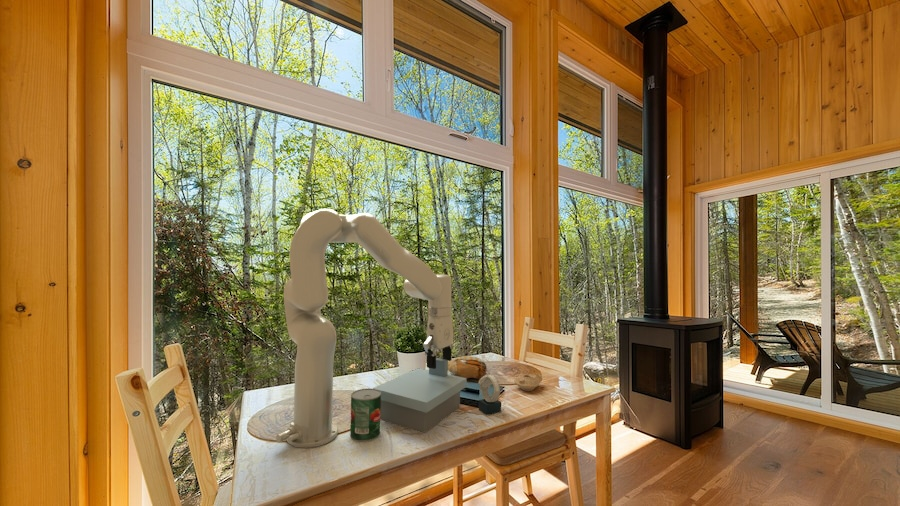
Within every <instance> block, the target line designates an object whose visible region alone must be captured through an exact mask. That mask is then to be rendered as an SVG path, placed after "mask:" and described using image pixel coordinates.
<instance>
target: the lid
mask: <svg viewBox="0 0 900 506" xmlns="http://www.w3.org/2000/svg"><path fill="white" fill-rule="evenodd" d="M467 379H468V378H464V377H458V376H457V375H455V374H454V375H453V374H449V371H448V360H445V359H443V358H438V357H436V368H435V369H432V368H428V369H426V368H425V369H420V368H417V369H415V370H412V369H411V371H408V372H406V373H403V374H402V375H400V376H397V377H395V378H393V379H390V380H388V381H385V382H384V383H380V384H379V385H377V386H375V387H372V389H377V390H379V391H380V392H381V400H383V401H386V402H390V403H394V404H397V405H401V406H404V407H408V408H411V409H415V410H418V411H422V412H425V413H427V412H428V411H430V410H432V409H433V408H435V407H436V406H438V405H439V404H441V403H442V402H444V401H445V400H447V399H448V398H450V397H452V396H453V395H455V394H456V393H458V392H459V391H460V392H461V391H462V390H464V389H466V387H467V386H468V385H467V381H468V380H467Z"/></svg>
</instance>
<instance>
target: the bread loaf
mask: <svg viewBox="0 0 900 506" xmlns="http://www.w3.org/2000/svg"><path fill="white" fill-rule="evenodd" d="M489 369H490V368H488V367H487V364H486V362H485V361H483V360H482V359H481V358H479V357H477V356H470V355H462V356H457V357H455V358H453V359H452V358H451V361H448V373H452V374H454V375H455V376H458V377H463V378H467V379H470V378H472V379H476V380H480V379H481V378H482V377H483V376H485V375H491V373H490V372H488V370H489ZM486 372H488V373H489V374H487V373H486Z"/></svg>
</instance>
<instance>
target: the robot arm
mask: <svg viewBox="0 0 900 506" xmlns="http://www.w3.org/2000/svg"><path fill="white" fill-rule="evenodd" d="M330 243H340V244H341V243H342V244H343V243H345V244H346V243H349V244H350V243H358V245H360V246H361V247H362V248H363V249H364V250H365V251H366V252H367V253H368V254H369V256H370V257H372V258H373V259H374V260H375V261H376V262H377V264H379V265H380V266H381V267H382V268H384V269H386V270H388V271H390V272H392V273H394V274H397V275H398V276H400V277H402V278H404V282H403V290H404V291H403V292H404V293H406V295H408V296H409V297H411V298H414V299H415V298H416V299H421V300H425V301H428V312H427V313H428V319H427V327H426V340H425V341H424V343H423V346H422V347H423V348H424V350H425V356H426V368H428V369H429V368H432V369H435V368H436V358H437V356H436V354H437V350H442V359H445V360H448V361H451V360H452V351H453V350H452V349H453V343H454V339H455V338H454V337H455V333H454V325H453V324H454V323H453V322H454V321H453V318H452V277H451V276H450V275H449V274H443V273H442V274H440V273H439V274H437V273H435V272H434V271H433V270H432V269H431V267H430V266H429V265H428V264H426V263H425V262H424V261H423V260H421V258H419V257H417V256H416V255H415V254H413V253H412V252H411V251H409V250H408V249H406V248H405V247H403V246H402V245H401V244H400V243H399V242H398V240H397V239H396V238H395V237H394V236H393V235H392V234H391V233H390V232H389V231H388V230H387V229H386V228H385V226H384V225H383V224H381V222H380V221H379V220H378V219H377V218H376V217H375V216H374V215H372V214H371V213H369V212H359V213H355V214H339V212H337V211H336V210H334V209H330V208H322V209H321V208H320V209H318V210H317V209H316V210H314V211H311V212H308V213H307V214H306V215H304V216H303V217H302V219H301V220H300V223H299V227H298V228H297V230H296V231H295V233H294V235H293V237H292V240H291V243H290V247H289V265H290V267H289V268H290V278H289V279H288V280H287V282H286V284H285V285H284V288H283V303H284V313H285V320H286V321H285V322H286V327H287V333H288V337H290V340H291V342H294V343H295V345H297V347H296V348H297V349H296V356H295V363H294V364H295V365H294V390H293V391H294V393H293V397H294V398H293V400H294V401H293V421H292V422H290V424H289V427H288V428H287V430H286V431H283V432H280V433H278V434H276V435H275V440H276V442H277V443H282V442H283V441H285V440H286V441H287V443H288V444H289V445H290V446H293V447H294V448H295V447H296V448H300V449H302V448H304V449H305V448H308V449H309V448H316V447H320V446H323V445H325V444H328V443H330V442H331V441H333V440H334V439H335V438H336V437H337V435H338V433H339V429H338V428H339V427H338V425H336V424H335V423H334V422H333V396H334V395H333V394H334V391H333V389H334V388H333V387H334V359H335V358H334V357H335V351H336V346H337V331H336V327H335V326H334V325H333V323H332V322H331V321H330V320H329V319H328V318H326V317H324V316H322V311H321V309H323V308H325V306H326V304H327V302H328V300H329V287H328V282H327V281H328V280H327V272H326V262H325V261H326V258H325V257H326V250H327V248H328V247H329V246H328V245H329V244H330Z"/></svg>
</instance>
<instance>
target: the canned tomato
mask: <svg viewBox="0 0 900 506" xmlns="http://www.w3.org/2000/svg"><path fill="white" fill-rule="evenodd" d="M380 413H381V392H380V391H379V390H377V389H373V388H370V387H369V388H360V389H357V390H354V391H353V392H352V393H350V428H349V429H350V431H349V432H350V433H349V436H350V437H349V438H350V439H351V440H353V441H354V442H357V443H358V442H359V443H366V442H372V441H373V440H376V439H378V438H379V437H380V435H381V420H380V415H381V414H380Z"/></svg>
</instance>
